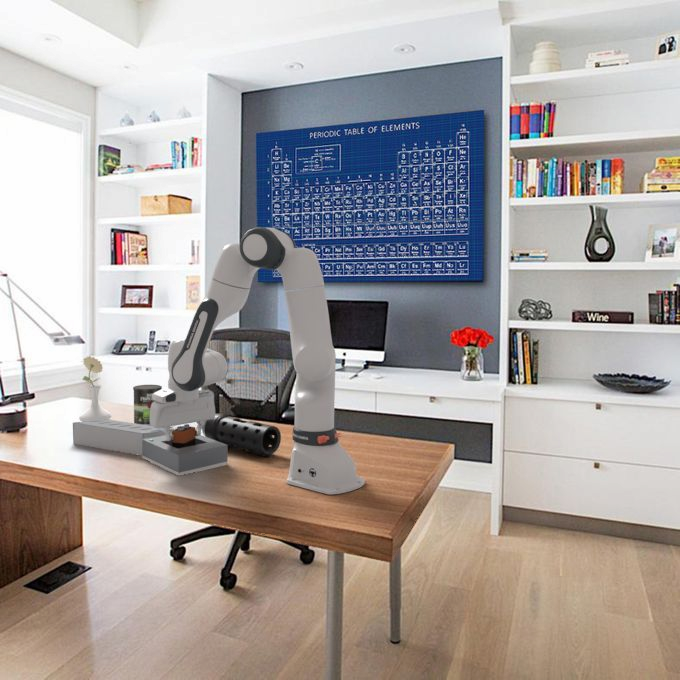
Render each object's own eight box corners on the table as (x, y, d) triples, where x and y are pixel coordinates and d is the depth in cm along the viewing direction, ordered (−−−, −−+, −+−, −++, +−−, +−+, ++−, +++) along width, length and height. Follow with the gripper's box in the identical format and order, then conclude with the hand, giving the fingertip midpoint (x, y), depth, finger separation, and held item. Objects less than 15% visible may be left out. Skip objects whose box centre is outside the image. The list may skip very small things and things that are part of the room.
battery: (171, 460, 174) (170, 427, 173) (183, 454, 180) (183, 422, 179) (184, 462, 172) (184, 429, 172) (196, 455, 179) (196, 423, 178)
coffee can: (164, 424, 221) (164, 387, 220) (136, 427, 216) (135, 389, 215) (159, 419, 230) (158, 383, 229) (131, 421, 225) (130, 385, 224)
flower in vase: (117, 421, 225) (115, 356, 223) (88, 426, 216) (87, 359, 214) (99, 416, 233) (97, 353, 231) (71, 421, 224) (69, 356, 222)
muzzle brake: (260, 461, 178) (260, 428, 177) (200, 445, 195) (199, 414, 194) (281, 454, 186) (281, 422, 185) (221, 439, 203) (221, 410, 202)
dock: (227, 464, 174) (227, 443, 174) (178, 476, 163) (178, 454, 162) (189, 448, 190) (189, 429, 189) (142, 458, 179) (142, 438, 178)
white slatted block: (174, 446, 194) (174, 423, 194) (143, 457, 181) (142, 433, 181) (107, 435, 207) (106, 413, 206) (73, 445, 194) (72, 422, 193)
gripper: (208, 387, 184) (208, 430, 185) (146, 394, 170) (147, 441, 171) (219, 390, 179) (219, 434, 181) (157, 398, 165) (157, 446, 166)
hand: (183, 438), depth 176 cm, fingers closed on battery, 8 cm apart
